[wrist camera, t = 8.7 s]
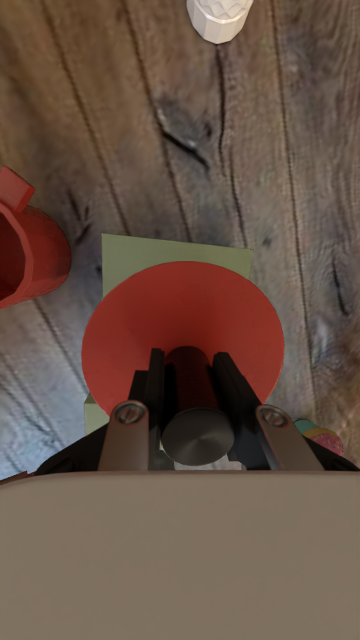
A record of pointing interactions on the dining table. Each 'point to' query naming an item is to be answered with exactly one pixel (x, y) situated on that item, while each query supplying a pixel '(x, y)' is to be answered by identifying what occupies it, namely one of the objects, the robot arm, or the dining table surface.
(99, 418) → the green step stand
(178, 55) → the dining table surface
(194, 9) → the white cup
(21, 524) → the robot arm
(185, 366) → the lid
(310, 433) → the cupcake
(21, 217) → the pot
